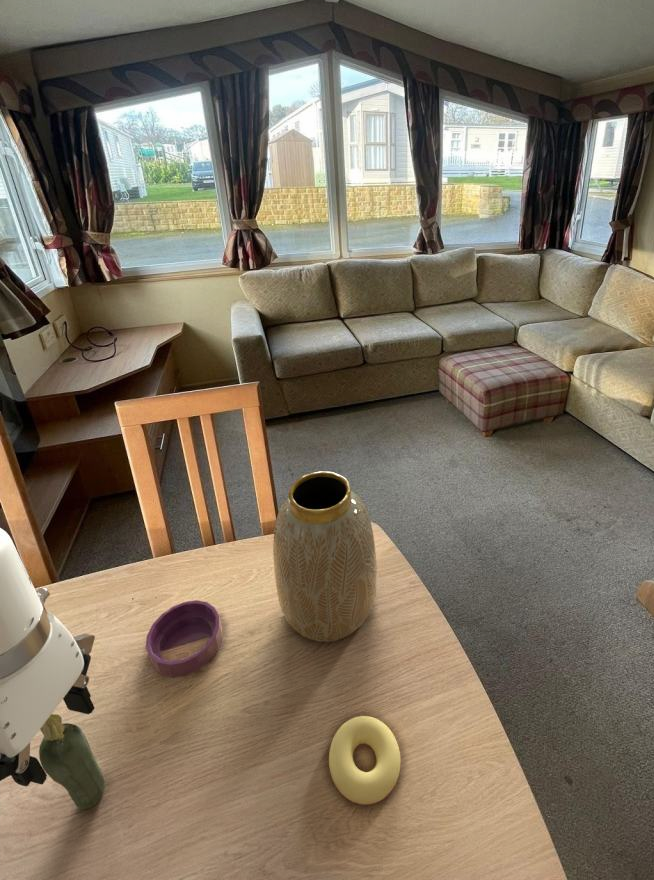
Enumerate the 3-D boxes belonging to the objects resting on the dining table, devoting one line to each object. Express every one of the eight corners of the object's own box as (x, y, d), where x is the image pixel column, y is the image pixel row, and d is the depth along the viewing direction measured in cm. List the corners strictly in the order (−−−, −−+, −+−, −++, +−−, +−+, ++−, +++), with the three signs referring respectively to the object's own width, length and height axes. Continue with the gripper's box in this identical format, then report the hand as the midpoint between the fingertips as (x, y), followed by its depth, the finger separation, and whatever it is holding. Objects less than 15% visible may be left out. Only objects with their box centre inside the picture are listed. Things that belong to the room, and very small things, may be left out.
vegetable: (121, 790, 63) (77, 698, 54) (98, 832, 59) (47, 741, 51) (91, 783, 64) (43, 691, 55) (66, 824, 60) (10, 733, 51)
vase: (350, 556, 98) (344, 446, 86) (395, 622, 84) (396, 503, 73) (267, 594, 90) (248, 479, 78) (303, 674, 76) (287, 549, 65)
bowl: (149, 693, 74) (142, 675, 72) (155, 628, 84) (149, 611, 82) (225, 669, 77) (220, 651, 75) (222, 609, 87) (218, 592, 85)
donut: (377, 724, 72) (318, 752, 67) (379, 699, 71) (318, 726, 66) (412, 790, 63) (347, 827, 59) (414, 763, 62) (348, 798, 58)
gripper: (42, 564, 56) (86, 662, 63) (-127, 728, 40) (-42, 830, 48) (99, 574, 54) (136, 673, 62) (-53, 747, 39) (22, 849, 47)
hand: (58, 741), depth 55 cm, fingers open, 6 cm apart
